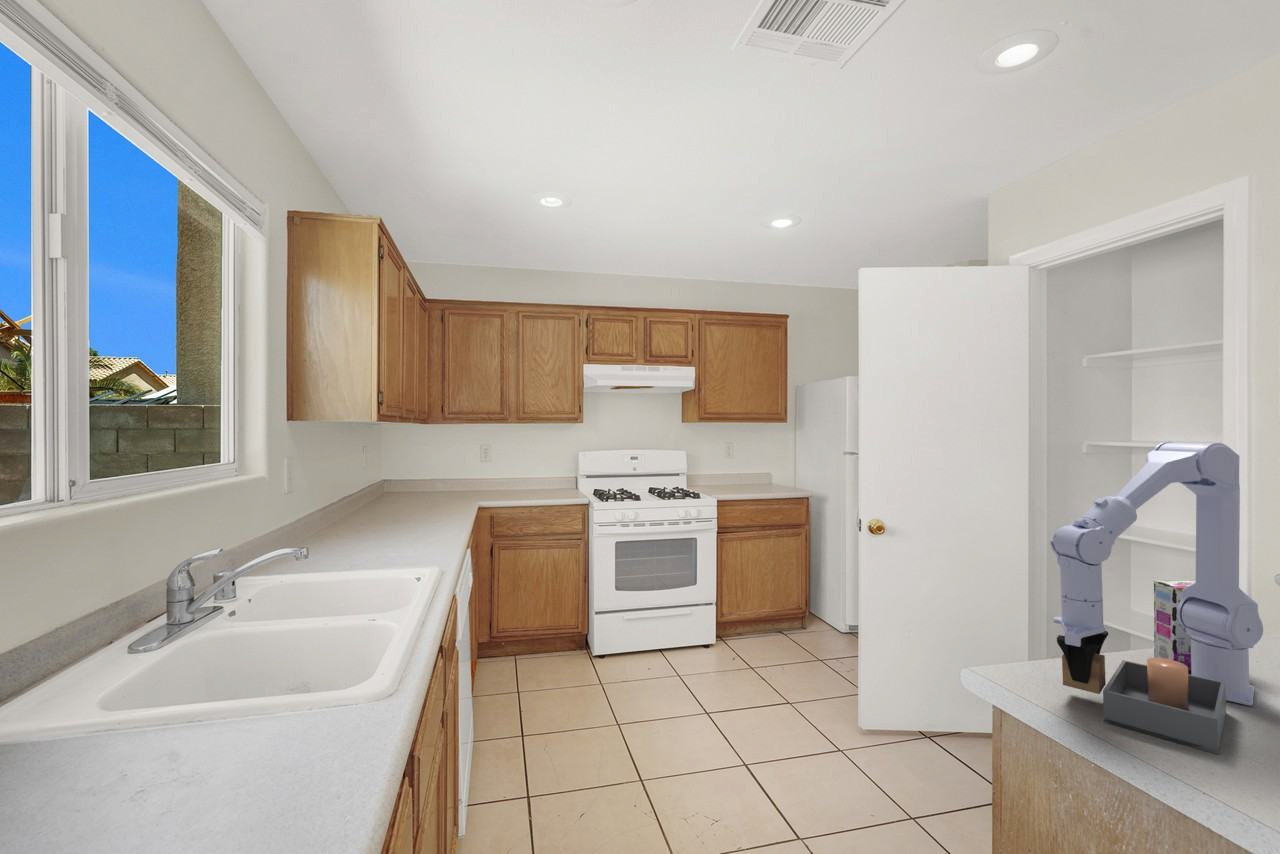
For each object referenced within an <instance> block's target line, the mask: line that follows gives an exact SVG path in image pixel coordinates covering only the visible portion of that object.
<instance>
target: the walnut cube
mask: <svg viewBox="0 0 1280 854" xmlns="http://www.w3.org/2000/svg"><path fill="white" fill-rule="evenodd" d="M1105 659H1106V656H1105V655H1104V654H1101V653H1100V654H1096V653H1095V655H1094V658H1093V661H1092V666H1091V673H1090V678H1089V681H1088V683H1087V684H1085V683H1081V682H1077V681H1073V680H1072V678H1071V675H1070V671H1069V668H1068V664H1067V661H1066V658H1065V655H1064V653H1063V654H1062V656H1061V663H1062V664H1061V665H1062V672H1061V673H1062V686H1066V687H1071V688H1073V689H1078V690H1081V691H1085V692H1090V693H1093V694H1097V695H1100V694H1101V693H1102V692H1103V690H1104V688H1105V687H1106V685H1107V683H1106V660H1105Z"/></svg>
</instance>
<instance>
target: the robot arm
mask: <svg viewBox="0 0 1280 854" xmlns="http://www.w3.org/2000/svg"><path fill="white" fill-rule="evenodd" d="M1145 459H1146V460H1145V461H1146V463H1145V464H1144V465H1143V466H1142V467H1141V469H1139V471H1138V472H1137V473H1136V474H1135V475H1134V476H1133V477H1132V478H1131V479H1130V480H1129V481H1128V482H1127V483H1126V484H1125V485H1124V487H1122V489H1121V490H1120V491H1119V492H1118V493H1117V494H1116V495H1115V496H1110V495H1108V496H1102V498H1101V497H1098V498H1096V499H1095V501H1094V502H1093V504H1094V505H1092V506H1091V507H1090V508H1089V509H1088V510H1087V511H1086V512H1084V513H1083V514H1082V515H1081V516H1080V517H1077V519H1075V520H1074V522H1073V524H1069V525H1064V526H1061V527H1060V528H1058V529H1057V530H1056V531H1055V533H1053V536H1052V540H1050V541H1049V542H1050V547H1051V550H1052V551H1053V553H1054V554H1055V555H1056V559H1057V564H1058V565H1059V572H1060V600H1061V605H1060V606H1061V616H1054V618H1053V623H1055V624H1058V625H1061V628H1062V630H1063V631H1064V635H1062V634H1061V635H1060V634H1059V635H1057V637H1056V643H1057V645H1058V646H1059V648H1060V649H1061V651H1062V653H1063V654H1064V655H1065V658H1066V661H1067V664H1068V668H1069V671H1070V675H1071V678H1072V680H1073V681H1077V682H1081V683H1085V684H1087V683H1088V681H1089V678H1090V673H1091V666H1092V661H1093V658H1094V655H1095V653H1096V654H1100V655H1101V651H1102V646H1103V644H1104V643H1105V641H1106V639H1107V637H1109V631H1107V630H1106V625H1105V624H1104V598H1103V566H1102V565H1103V562H1105V561H1107V560H1108V559H1109V558H1110V556H1111V553H1112V549H1113V545H1115V541H1116V539H1117V538H1119V537H1120V536H1121V535H1122V534H1123V533H1124V532H1125V531H1126V530H1127V529H1128V528H1130V527H1131V526H1132V525H1133V524H1134V523H1136V521H1137V518H1138V514H1137V510H1138V509H1139V508H1140V507H1141V506H1143V505H1144V504H1146V503H1147V502H1148V501H1149V500H1151V499H1153V498H1154V497H1155V496H1156V495H1157V494H1158V493H1160V492H1162V491H1163V490H1164V489H1166V488H1167V487H1168V486H1169V485H1171V484H1174V483H1179V484H1182V485H1183V486H1184V487H1186V488H1187V489H1188V490H1189V491H1190V492H1192V493H1193V494H1194V495H1195V497H1196V500H1195V503H1196V505H1195V506H1196V507H1195V511H1196V512H1195V581H1196V582H1195V583H1194V584H1192V585H1190V586H1188V587H1186V588H1184V589H1183V590H1182V598H1181V601H1180V603H1179V605H1178V608H1177V618H1178V621H1179V623H1180V624H1181V625H1182V626H1183V627H1184V628H1186V634H1188V635H1190V636H1191V673H1190V675H1194V676H1199V677H1203V678H1208V679H1212V680H1217V681H1222V682H1226V702H1227V701H1228V702H1233V703H1236V704H1241V705H1244V706H1250V707H1251V706H1254V694H1255V686H1254V685H1251V684H1250V657H1249V656H1250V655H1249V654H1250V652H1249V649H1254V646H1256V645H1257V644H1258V642H1259V641H1260V640H1261V639H1262V637H1263V635H1264V634H1263V633H1264V625H1263V622H1262V619H1261V618H1260V614H1259V604H1258V603H1257V602H1256V601H1255V600H1254V599H1253V598H1251V597H1250V596H1249V595H1248V594H1247V593H1245V592H1244V591H1243V590H1242V589H1241V587H1240V528H1241V527H1240V524H1241V522H1240V518H1241V517H1240V516H1241V511H1240V509H1241V500H1240V499H1241V487H1240V486H1241V485H1240V455H1239V454H1238V453H1237V452H1236V451H1234V450H1233V449H1232V448H1230V446H1229V445H1226V444H1225V443H1221V442H1210V443H1207V442H1206V443H1204V442H1174V441H1163V442H1160V443H1158V444H1156V446H1155V447H1154V448H1153V449H1152V450H1151V451H1149V452H1148V453H1147V454H1146V458H1145Z"/></svg>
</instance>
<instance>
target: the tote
mask: <svg viewBox="0 0 1280 854" xmlns="http://www.w3.org/2000/svg"><path fill="white" fill-rule="evenodd" d="M1188 688H1189V711H1186V710H1182V709H1178V708H1174V707H1170V706H1166V705H1162V704H1159V703H1155V702H1151V701H1148V673H1147V664H1144V663H1143V664H1142V663H1138V662H1133V661H1129V660H1125V659H1123V660H1121V662H1120V663H1119V665H1118V666H1117V668H1116V669H1115V671H1114V673H1113V674H1112V676H1111V678H1110V679H1109V681H1107V683H1106V685H1105V686H1104V688H1103V689H1102V696H1103V698H1102V701H1103V702H1102V703H1103V704H1102V705H1103V709H1102V710H1103V723H1106V724H1109V725H1113V726H1116V727H1121V728H1124V729H1128V730H1131V731H1134V732H1138V733H1140V734H1145V735H1148V736H1152V737H1155V738H1159V739H1162V740H1165V741H1170V742H1172V741H1173V743H1176V744H1179V743H1181V744H1180V745H1183V744H1185V745H1184V746H1186V745H1188V746H1187V747H1190V746H1191V747H1190V748H1193V747H1194V749H1197V748H1198V750H1202V751H1205V752H1209V753H1212V754H1215V755H1217V756H1218V755H1219V754H1220V749H1221V744H1222V738H1223V732H1224V727H1225V723H1226V722H1225V721H1226V717H1227V700H1226V682H1222V681H1217V680H1212V679H1208V678H1203V677H1199V676H1194V675H1191V674H1189V673H1188Z"/></svg>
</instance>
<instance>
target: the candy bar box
mask: <svg viewBox="0 0 1280 854" xmlns="http://www.w3.org/2000/svg"><path fill="white" fill-rule="evenodd" d="M1195 582H1196V580H1154V581H1153V613H1154V614H1153V619H1154V622H1153V623H1154V625H1153V628H1154V629H1153V630H1154V633H1153V634H1154V635H1153V637H1154V638H1153V639H1154V642H1153V646H1154V649H1153V650H1154V651H1153V654H1154V657H1153V658H1164V659H1170V660H1174V661H1177V662H1180V663H1183V664H1185V665H1186V666H1187V667H1188V674H1189V673H1190V674H1191V636H1190V635H1188V634H1186V628H1184V627H1183V626H1182V625H1181V624H1180V623H1179V621H1178V618H1177V608H1178V605H1179V603H1180V601H1181V598H1182V590H1183V589H1184V588H1186V587H1188V586H1190V585H1192V584H1194V583H1195Z"/></svg>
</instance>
